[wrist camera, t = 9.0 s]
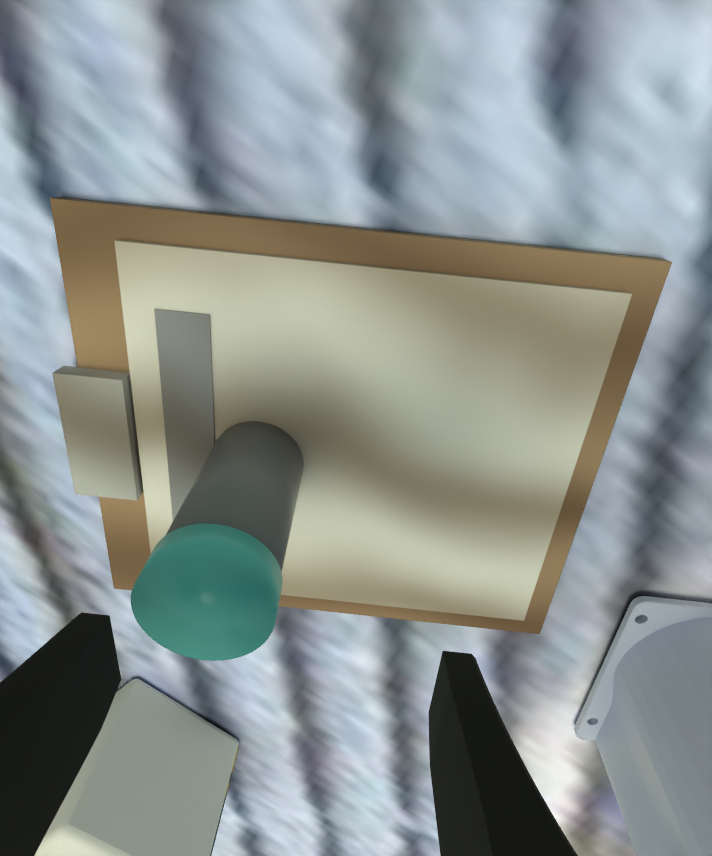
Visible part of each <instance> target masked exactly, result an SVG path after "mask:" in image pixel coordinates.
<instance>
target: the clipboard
mask: <svg viewBox="0 0 712 856" xmlns="http://www.w3.org/2000/svg"><path fill="white" fill-rule="evenodd" d="M50 202H51V208H52V214H53V220H54V226H55V232H56V238H57V244H58V250H59V256H60V262H61V269H62V275H63V281H64V287H65V293H66V299H67V305H68V311H69V317H70V323H71V329H72V336H73V342H74V348H75V354H76V360H77V366H78V367H70V366H63V367H61V368H60V369H58V370H56V371H55V372H53V379H54V384H55V389H56V395H57V400H58V405H59V410H60V416H61V421H62V426H63V432H64V437H65V442H66V448H67V453H68V458H69V463H70V469H71V474H72V479H73V485H74V490H75V494H80V495H89V496H98V497H99V500H100V506H101V512H102V518H103V524H104V530H105V537H106V543H107V549H108V555H109V561H110V567H111V573H112V579H113V585H114V588H115V589H125V590H132V589H133V586H134V584H135V582H136V580H137V578H138V576H139V575H140V573H141V571H142V569H143V567H144V566H145V564H146V562H147V560H148V558H149V557H150V555H151V553H152V551H153V549H154V548H155V546H156V545H157V543H158V542H159V541H160V540H161V539H162V538H163V537H164V536H165V535H166V533H167V531H168V530H169V528H170V526H171V524H172V522H173V520H174V519H175V517H176V515H177V513H178V511H179V509H180V507H181V506H182V504H183V502H184V500H185V498H186V496H187V494H188V493H189V491H190V489H191V487H192V485H193V483H194V482H195V480H196V478H197V476H198V474H199V472H200V470H201V469H202V467H203V465H204V463H205V461H206V459H207V457H208V456H209V454H210V452H211V450H212V448H213V446H214V445H215V443H216V441H217V439H218V438H219V436H220V435H221V434H222V433H223V432H224V431H225V430H227V429H228V428H230V427H232V426H234V425H236V424H239V423H243V422H251V421H256V422H264V423H268V424H272V425H274V426H276V427H278V428H280V429H282V430H284V431H285V432H286V433H288V434H289V435H290V436H291V437H292V438H293V439H294V440H295V442H296V443H297V444H298V446H299V448H300V450H301V452H302V456H303V461H304V468H303V474H302V479H301V483H300V488H299V493H298V497H297V502H296V507H295V512H294V516H293V521H292V526H291V530H290V535H289V540H288V545H287V549H286V554H285V559H284V563H283V568H282V582H283V584H282V590H281V595H280V600H279V605H278V606H283V607H292V608H302V609H311V610H320V611H330V612H339V613H348V614H358V615H367V616H376V617H386V618H395V619H404V620H414V621H423V622H432V623H442V624H451V625H460V626H469V627H479V628H488V629H497V630H507V631H516V632H525V633H535V634H540V631H541V629H542V626H543V623H544V620H545V617H546V615H547V612H548V609H549V606H550V603H551V600H552V598H553V595H554V592H555V589H556V586H557V584H558V581H559V578H560V575H561V572H562V570H563V567H564V564H565V561H566V558H567V556H568V553H569V550H570V547H571V544H572V542H573V539H574V536H575V533H576V530H577V527H578V525H579V522H580V519H581V516H582V513H583V511H584V508H585V505H586V502H587V499H588V497H589V494H590V491H591V488H592V485H593V483H594V480H595V477H596V474H597V471H598V468H599V466H600V463H601V460H602V457H603V454H604V452H605V449H606V446H607V443H608V440H609V438H610V435H611V432H612V429H613V426H614V424H615V421H616V418H617V415H618V412H619V410H620V407H621V404H622V401H623V398H624V395H625V393H626V390H627V387H628V384H629V381H630V379H631V376H632V373H633V370H634V367H635V365H636V362H637V359H638V356H639V353H640V351H641V348H642V345H643V342H644V339H645V337H646V334H647V331H648V328H649V325H650V322H651V320H652V317H653V314H654V311H655V308H656V306H657V303H658V300H659V297H660V294H661V292H662V289H663V286H664V283H665V280H666V278H667V275H668V272H669V269H670V266H671V264H672V262H670V261H668V260H665V259H660V258H651V257H641V256H631V255H621V254H612V253H602V252H592V251H582V250H573V249H563V248H553V247H543V246H534V245H524V244H514V243H504V242H495V241H485V240H475V239H465V238H456V237H446V236H436V235H426V234H416V233H407V232H397V231H387V230H377V229H368V228H358V227H348V226H338V225H329V224H319V223H309V222H299V221H290V220H280V219H270V218H260V217H251V216H241V215H231V214H221V213H212V212H202V211H192V210H182V209H173V208H163V207H153V206H143V205H133V204H124V203H114V202H104V201H94V200H85V199H75V198H65V197H57V198H50Z"/></svg>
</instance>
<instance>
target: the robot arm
mask: <svg viewBox="0 0 712 856" xmlns="http://www.w3.org/2000/svg"><path fill="white" fill-rule="evenodd" d="M639 615H641V616H639ZM637 616H638V617H637ZM120 681H121V676H120V671H119V665H118V660H117V654H116V649H115V644H114V638H113V633H112V627H111V622H110V616H108V615H99V614H89V613H81V614H79V615H78V616H77V617H75V618H74V619H73V620H72V621H71V622H70V623H69V624H67V625H66V626H65V627H64V628H63V629H62V630H60V631H59V632H58V633H57V634H56V635H55V636H54V637H52V638H51V639H50V640H49V641H48V642H47V643H46V644H44V645H43V646H42V647H41V648H40V649H39V650H38V651H36V652H35V653H34V654H33V655H32V656H31V657H30V658H28V659H27V660H26V661H25V662H24V663H23V664H21V665H20V666H19V667H18V668H17V669H16V670H15V671H13V672H12V673H11V674H10V675H9V676H7V677H6V678H5V679H4V680H3V681H1V682H0V856H35V854H36V852H37V850H38V848H39V846H40V844H41V842H42V840H43V838H44V836H45V835H46V833H47V831H48V829H49V827H50V825H51V823H52V821H53V820H54V818H55V816H56V814H57V812H58V810H59V808H60V806H61V805H62V803H63V801H64V799H65V797H66V795H67V793H68V791H69V790H70V788H71V786H72V784H73V782H74V780H75V778H76V776H77V775H78V773H79V771H80V769H81V767H82V765H83V763H84V761H85V759H86V757H87V756H88V754H89V752H90V750H91V748H92V746H93V744H94V742H95V740H96V738H97V736H98V734H99V733H100V731H101V728H102V726H103V724H104V721H105V719H106V716H107V714H108V712H109V709H110V707H111V704H112V701H113V699H114V696H115V694H116V691H117V689H118V686H119V683H120ZM574 729H575V733H576V735H577V737H579V738H580V739H583V740H592V741H596V743H597V746H598V749H599V751H600V754H601V757H602V760H603V763H604V765H605V768H606V771H607V774H608V777H609V779H610V782H611V785H612V788H613V791H614V793H615V796H616V799H617V802H618V805H619V807H620V810H621V813H622V816H623V819H624V821H625V824H626V827H627V830H628V833H629V835H630V838H631V841H632V844H633V847H634V849H635V852H636V855H637V856H712V603H705V602H696V601H686V600H677V599H667V598H658V597H649V596H640V597H637V598H635V599H634V600H632V602H631V603H630V605H629V607H628V609H627V611H626V614H625V616H624V618H623V620H622V623H621V625H620V627H619V629H618V631H617V634H616V636H615V638H614V640H613V642H612V645H611V647H610V649H609V651H608V654H607V656H606V658H605V660H604V662H603V665H602V667H601V669H600V671H599V673H598V676H597V678H596V680H595V682H594V685H593V687H592V689H591V691H590V693H589V696H588V698H587V700H586V702H585V704H584V707H583V709H582V711H581V713H580V716H579V718H578V720H577V722H576V724H575V727H574ZM429 747H430V769H431V778H432V787H433V795H434V804H435V812H436V821H437V829H438V837H439V845H440V854H441V856H578V855H577V854H576V852H575V851H574V849H573V848H572V846H571V844H570V843H569V841H568V840H567V838H566V836H565V835H564V833H563V831H562V830H561V828H560V826H559V825H558V823H557V821H556V820H555V818H554V816H553V815H552V813H551V811H550V809H549V808H548V806H547V804H546V802H545V801H544V799H543V797H542V796H541V794H540V792H539V790H538V789H537V787H536V785H535V783H534V781H533V779H532V778H531V776H530V774H529V772H528V770H527V768H526V766H525V765H524V763H523V761H522V759H521V757H520V755H519V753H518V751H517V749H516V747H515V745H514V743H513V741H512V739H511V737H510V735H509V733H508V731H507V729H506V727H505V725H504V723H503V721H502V719H501V717H500V715H499V712H498V710H497V708H496V706H495V704H494V702H493V699H492V697H491V695H490V693H489V690H488V688H487V686H486V683H485V681H484V679H483V676H482V674H481V671H480V669H479V666H478V664H477V661H476V658H475V657H474V656H473V655H472V654H467V653H458V652H448V651H443V653H442V657H441V661H440V666H439V670H438V674H437V679H436V683H435V687H434V692H433V696H432V701H431V705H430V709H429Z"/></svg>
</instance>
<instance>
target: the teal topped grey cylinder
mask: <svg viewBox="0 0 712 856" xmlns="http://www.w3.org/2000/svg"><path fill="white" fill-rule="evenodd" d="M303 468H304V461H303V456H302V452H301V450H300V448H299V446H298V444H297V443H296V442H295V440H294V439H293V438H292V437H291V436H290V435H289V434H288V433H286V432H285V431H284V430H282V429H280V428H278V427H276V426H274V425H272V424H268V423H264V422H256V421H251V422H243V423H239V424H236V425H234V426H232V427H230V428H228V429H227V430H225V431H224V432H223V433H222V434H221V435H220V436H219V438H218V439H217V441H216V443H215V445H214V446H213V448H212V450H211V452H210V454H209V456H208V457H207V459H206V461H205V463H204V465H203V467H202V469H201V470H200V472H199V474H198V476H197V478H196V480H195V482H194V483H193V485H192V487H191V489H190V491H189V493H188V494H187V496H186V498H185V500H184V502H183V504H182V506H181V507H180V509H179V511H178V513H177V515H176V517H175V519H174V520H173V522H172V524H171V526H170V528H169V530H168V531H167V533H166V535H165V536H164V537H163V538H162V539H161V540H160V541H159V542H158V543H157V545H156V546H155V548H154V549H153V551H152V553H151V555H150V557H149V558H148V560H147V562H146V564H145V566H144V567H143V569H142V571H141V573H140V575H139V576H138V578H137V580H136V582H135V584H134V586H133V589H132V594H131V606H132V611H133V613H134V616H135V618H136V620H137V622H138V624H139V625H140V626H141V628H142V629H143V630H144V631H145V632H146V633H147V635H148V636H149V637H151V638H152V639H153V640H154V641H156V642H157V643H159V644H160V645H162V646H163V647H165V648H167V649H169V650H171V651H173V652H175V653H178V654H180V655H183V656H187V657H190V658H195V659H201V660H228V659H233V658H237V657H241V656H244V655H246V654H248V653H250V652H252V651H254V650H256V649H257V648H259V647H260V646H261V645H262V644H263V643H264V642H265V641H266V640H267V639H268V638H269V636H270V634H271V633H272V631H273V628H274V625H275V620H276V615H277V610H278V605H279V600H280V595H281V590H282V584H283V582H282V568H283V563H284V559H285V554H286V549H287V545H288V540H289V535H290V530H291V526H292V521H293V516H294V512H295V507H296V502H297V497H298V493H299V488H300V483H301V479H302V474H303Z"/></svg>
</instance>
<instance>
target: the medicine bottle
mask: <svg viewBox="0 0 712 856" xmlns="http://www.w3.org/2000/svg"><path fill="white" fill-rule="evenodd" d="M238 748H239V743H238V741H237V739H236V738H234V737H232V736H231V735H229V734H227V733H226V732H224V731H223V730H221V729H219V728H218V727H216V726H214V725H213V724H211V723H210V722H208V721H206V720H205V719H203V718H201V717H200V716H198V715H197V714H195V713H193V712H192V711H190V710H189V709H187V708H185V707H184V706H182V705H180V704H179V703H177V702H176V701H174V700H172V699H171V698H169V697H167V696H166V695H164V694H163V693H161V692H159V691H158V690H156V689H154V688H153V687H151V686H150V685H148V684H146V683H145V682H143V681H142V680H140V679H133V680H131V681H130V682H129V683H127V684H126V685H125V686H124V687H122V688H121V689H120V690H119V691H117V692H116V694H115V696H114V699H113V701H112V704H111V707H110V709H109V712H108V714H107V716H106V719H105V721H104V724H103V726H102V728H101V731H100V733H99V734H98V736H97V738H96V740H95V742H94V744H93V746H92V748H91V750H90V752H89V754H88V756H87V757H86V759H85V761H84V763H83V765H82V767H81V769H80V771H79V773H78V775H77V776H76V778H75V780H74V782H73V784H72V786H71V788H70V790H69V791H68V793H67V795H66V797H65V799H64V801H63V803H62V805H61V806H60V808H59V810H58V812H57V814H56V816H55V818H54V820H53V821H52V823H51V825H50V827H49V829H48V831H47V833H46V835H45V836H44V838H43V840H42V842H41V844H40V846H39V848H38V850H37V852H36V854H35V856H211V854H212V850H213V846H214V842H215V839H216V835H217V831H218V827H219V823H220V819H221V815H222V811H223V807H224V803H225V799H226V795H227V791H228V787H229V783H230V779H231V775H232V771H233V767H234V763H235V759H236V756H237V752H238Z"/></svg>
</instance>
